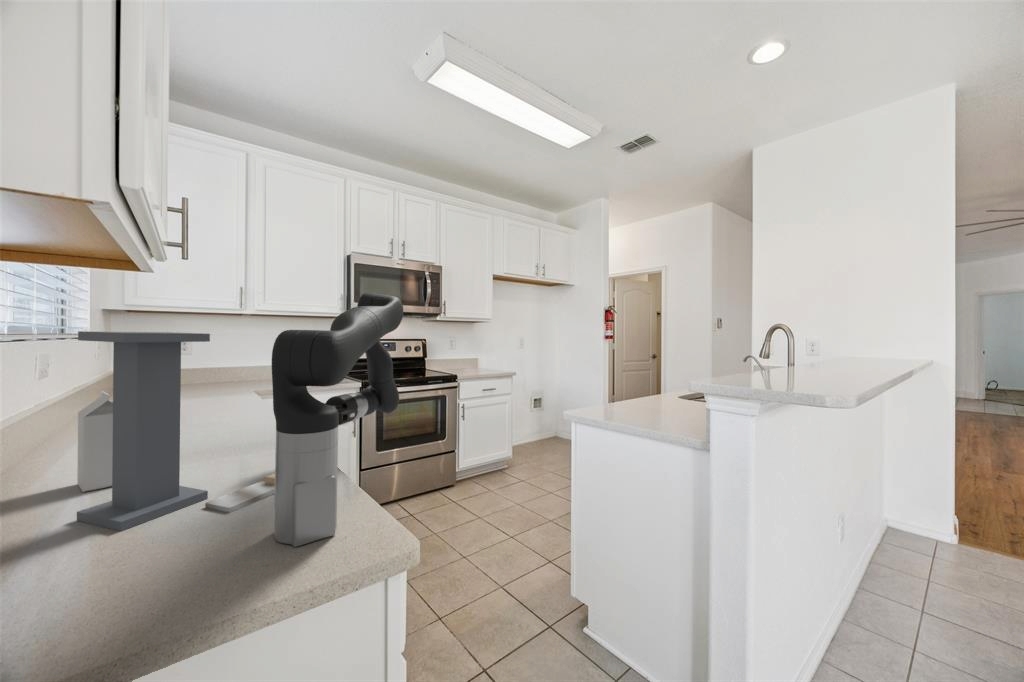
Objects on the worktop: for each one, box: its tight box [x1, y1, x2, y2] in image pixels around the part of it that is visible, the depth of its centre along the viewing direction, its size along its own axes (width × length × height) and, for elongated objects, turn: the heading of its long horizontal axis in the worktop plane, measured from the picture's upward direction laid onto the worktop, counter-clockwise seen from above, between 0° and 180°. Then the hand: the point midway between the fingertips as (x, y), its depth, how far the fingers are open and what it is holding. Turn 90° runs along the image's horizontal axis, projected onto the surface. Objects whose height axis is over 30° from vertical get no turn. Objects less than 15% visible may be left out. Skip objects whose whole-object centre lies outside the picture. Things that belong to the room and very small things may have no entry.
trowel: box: [204, 472, 275, 514], centre depth 85 cm, size 21×6×2 cm, turn 162°
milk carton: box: [77, 390, 113, 493], centre depth 86 cm, size 7×7×19 cm
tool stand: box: [76, 331, 211, 532], centre depth 74 cm, size 14×11×32 cm
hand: (301, 420), depth 94 cm, fingers open, 8 cm apart
